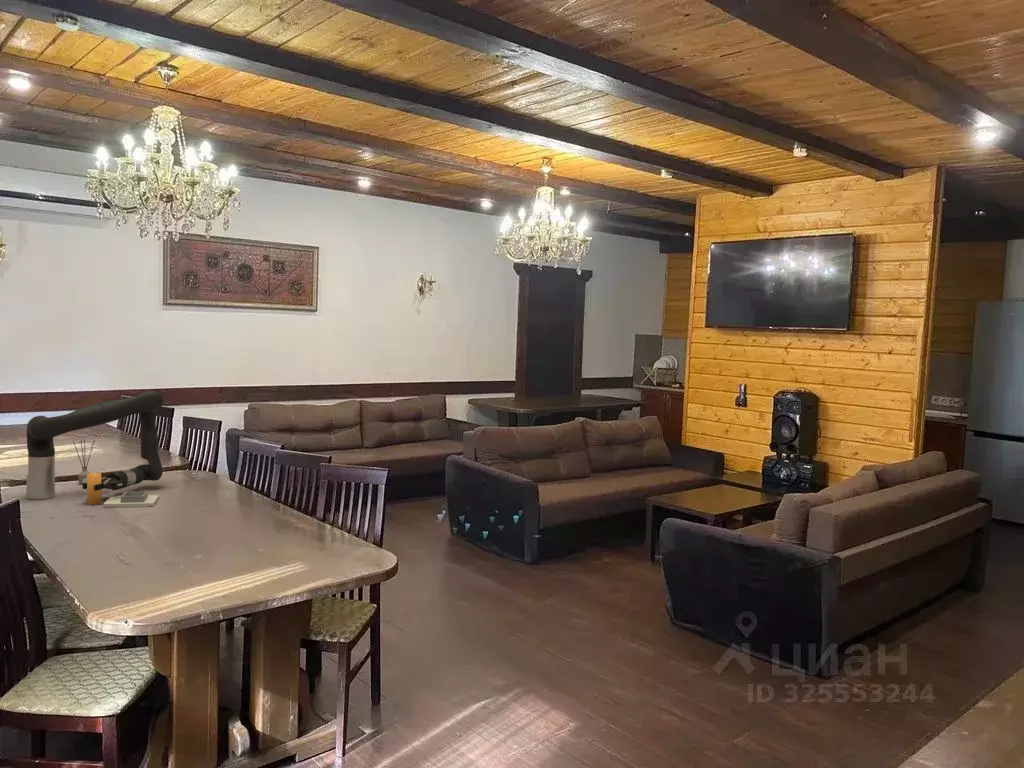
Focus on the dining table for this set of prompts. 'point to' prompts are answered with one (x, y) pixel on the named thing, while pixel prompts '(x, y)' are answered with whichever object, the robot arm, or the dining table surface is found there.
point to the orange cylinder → (93, 495)
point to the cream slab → (132, 500)
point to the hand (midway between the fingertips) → (89, 487)
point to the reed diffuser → (84, 472)
